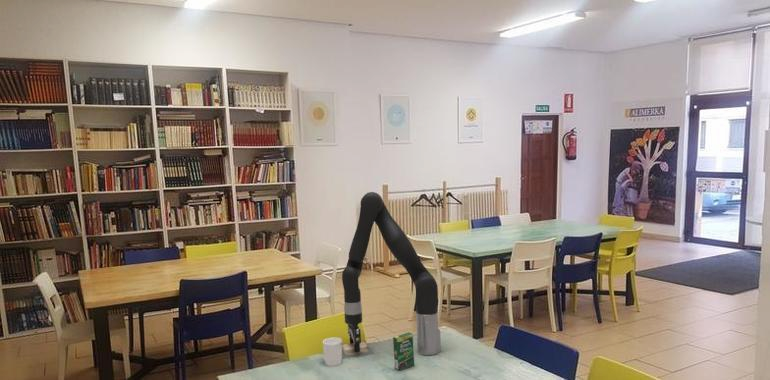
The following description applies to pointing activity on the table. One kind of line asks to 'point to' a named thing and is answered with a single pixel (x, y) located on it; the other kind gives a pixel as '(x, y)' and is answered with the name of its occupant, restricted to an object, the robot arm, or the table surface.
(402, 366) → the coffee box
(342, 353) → the mat
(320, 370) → the table surface
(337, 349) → the white cup
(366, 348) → the lid board
